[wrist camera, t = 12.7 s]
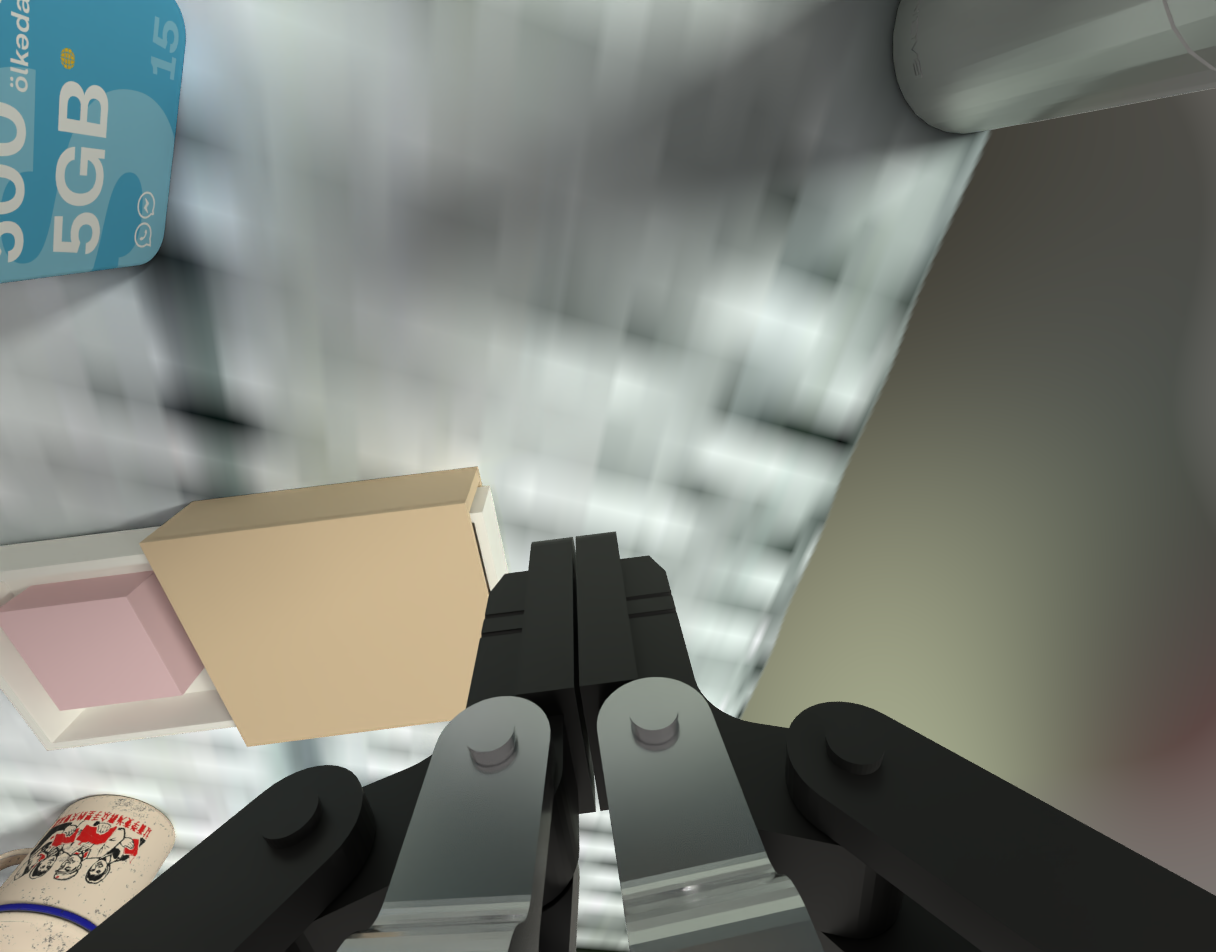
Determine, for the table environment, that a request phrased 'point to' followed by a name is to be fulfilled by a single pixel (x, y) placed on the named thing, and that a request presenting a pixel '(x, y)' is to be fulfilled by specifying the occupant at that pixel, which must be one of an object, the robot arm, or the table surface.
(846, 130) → the table surface
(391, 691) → the mailer sleeve
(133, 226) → the data package
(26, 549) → the tray
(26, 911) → the teacup with lid
